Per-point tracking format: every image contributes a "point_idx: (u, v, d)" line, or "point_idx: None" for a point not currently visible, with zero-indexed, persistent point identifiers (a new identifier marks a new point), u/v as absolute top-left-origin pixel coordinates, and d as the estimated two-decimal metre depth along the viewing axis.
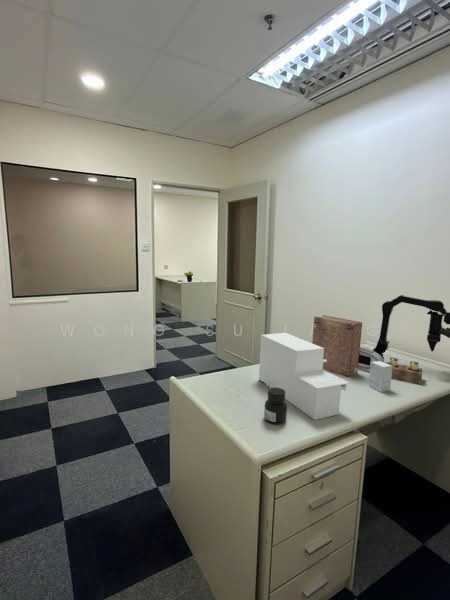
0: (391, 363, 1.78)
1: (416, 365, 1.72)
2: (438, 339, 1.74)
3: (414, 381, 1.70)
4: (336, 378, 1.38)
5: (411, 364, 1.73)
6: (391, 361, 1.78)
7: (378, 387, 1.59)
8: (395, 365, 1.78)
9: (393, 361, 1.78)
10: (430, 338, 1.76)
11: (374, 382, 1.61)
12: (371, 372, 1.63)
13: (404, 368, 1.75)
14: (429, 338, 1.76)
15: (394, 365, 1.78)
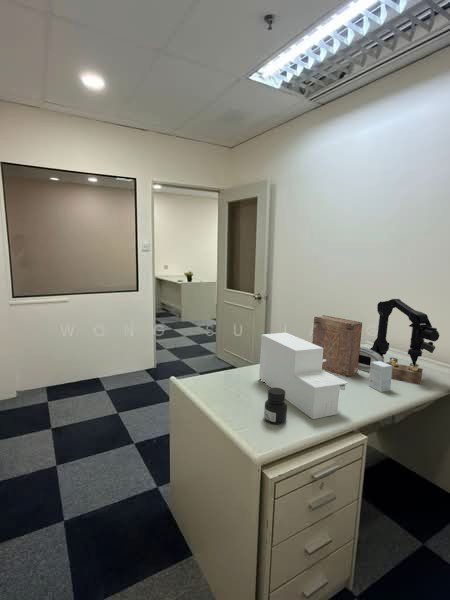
0: (391, 363, 1.78)
1: (416, 367, 1.72)
2: (419, 354, 1.64)
3: (414, 381, 1.70)
4: (335, 378, 1.38)
5: (411, 366, 1.73)
6: (391, 361, 1.78)
7: (378, 387, 1.59)
8: (395, 365, 1.78)
9: (393, 361, 1.78)
10: (411, 353, 1.66)
11: (374, 382, 1.61)
12: (371, 372, 1.63)
13: (404, 368, 1.75)
14: (410, 353, 1.66)
15: (394, 365, 1.78)
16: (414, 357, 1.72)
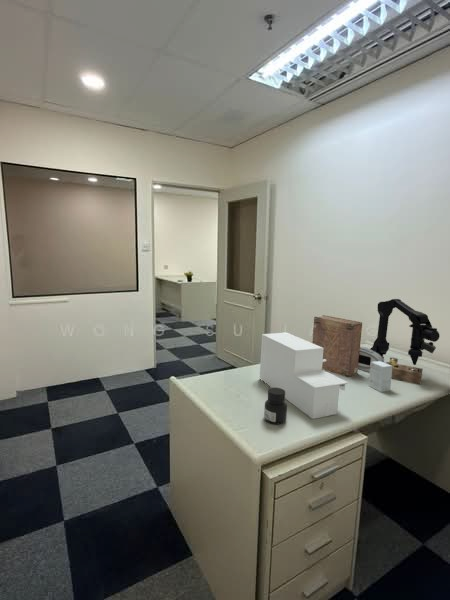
0: (391, 363, 1.78)
1: None
2: (419, 355, 1.64)
3: (414, 381, 1.70)
4: (335, 378, 1.38)
5: None
6: (391, 361, 1.78)
7: (378, 387, 1.59)
8: (395, 365, 1.78)
9: (393, 361, 1.78)
10: (411, 353, 1.66)
11: (374, 382, 1.61)
12: (371, 372, 1.63)
13: (404, 368, 1.75)
14: (410, 353, 1.66)
15: (394, 365, 1.78)
16: (414, 357, 1.72)
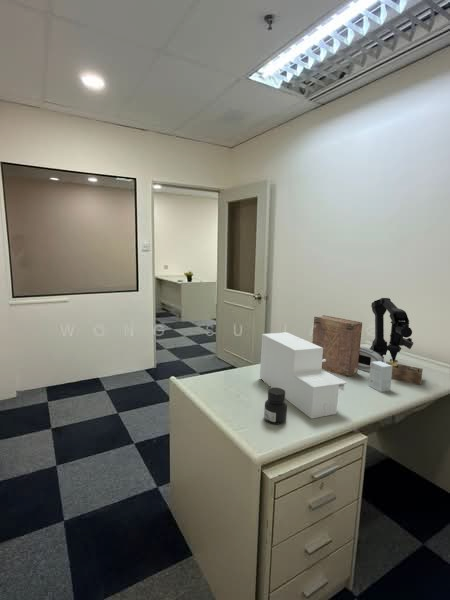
0: (391, 364, 1.79)
1: None
2: (397, 350, 1.69)
3: (414, 381, 1.70)
4: (334, 378, 1.38)
5: None
6: (391, 362, 1.79)
7: (378, 387, 1.59)
8: (395, 366, 1.78)
9: (393, 362, 1.78)
10: (389, 349, 1.71)
11: (374, 382, 1.61)
12: (371, 372, 1.63)
13: (404, 368, 1.75)
14: (389, 349, 1.72)
15: (394, 366, 1.78)
16: (393, 353, 1.78)
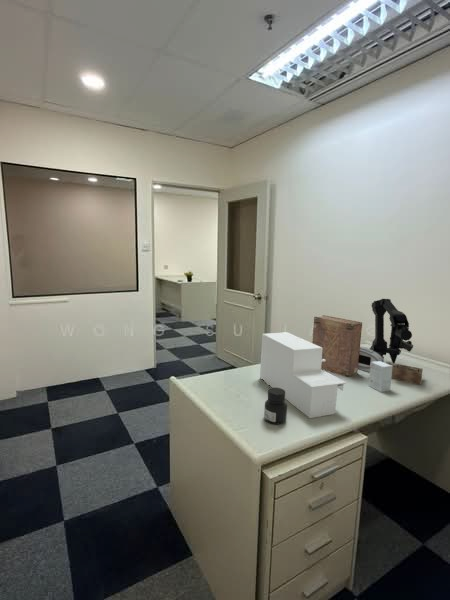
0: None
1: None
2: (397, 353, 1.69)
3: (414, 381, 1.70)
4: (333, 378, 1.38)
5: None
6: None
7: (378, 387, 1.59)
8: None
9: None
10: (389, 352, 1.71)
11: (374, 382, 1.61)
12: (371, 372, 1.63)
13: (404, 368, 1.75)
14: (388, 352, 1.72)
15: None
16: (393, 356, 1.78)
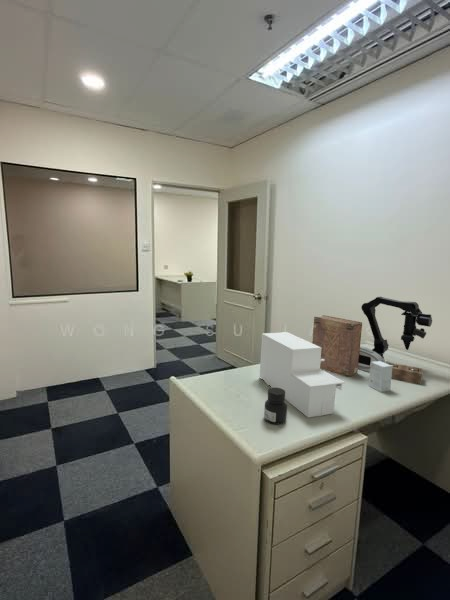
0: None
1: None
2: (411, 339, 1.77)
3: (414, 381, 1.70)
4: (332, 377, 1.38)
5: None
6: None
7: (378, 387, 1.59)
8: None
9: None
10: (404, 339, 1.79)
11: (374, 382, 1.61)
12: (371, 372, 1.63)
13: (404, 368, 1.75)
14: (403, 339, 1.80)
15: None
16: (407, 343, 1.86)
